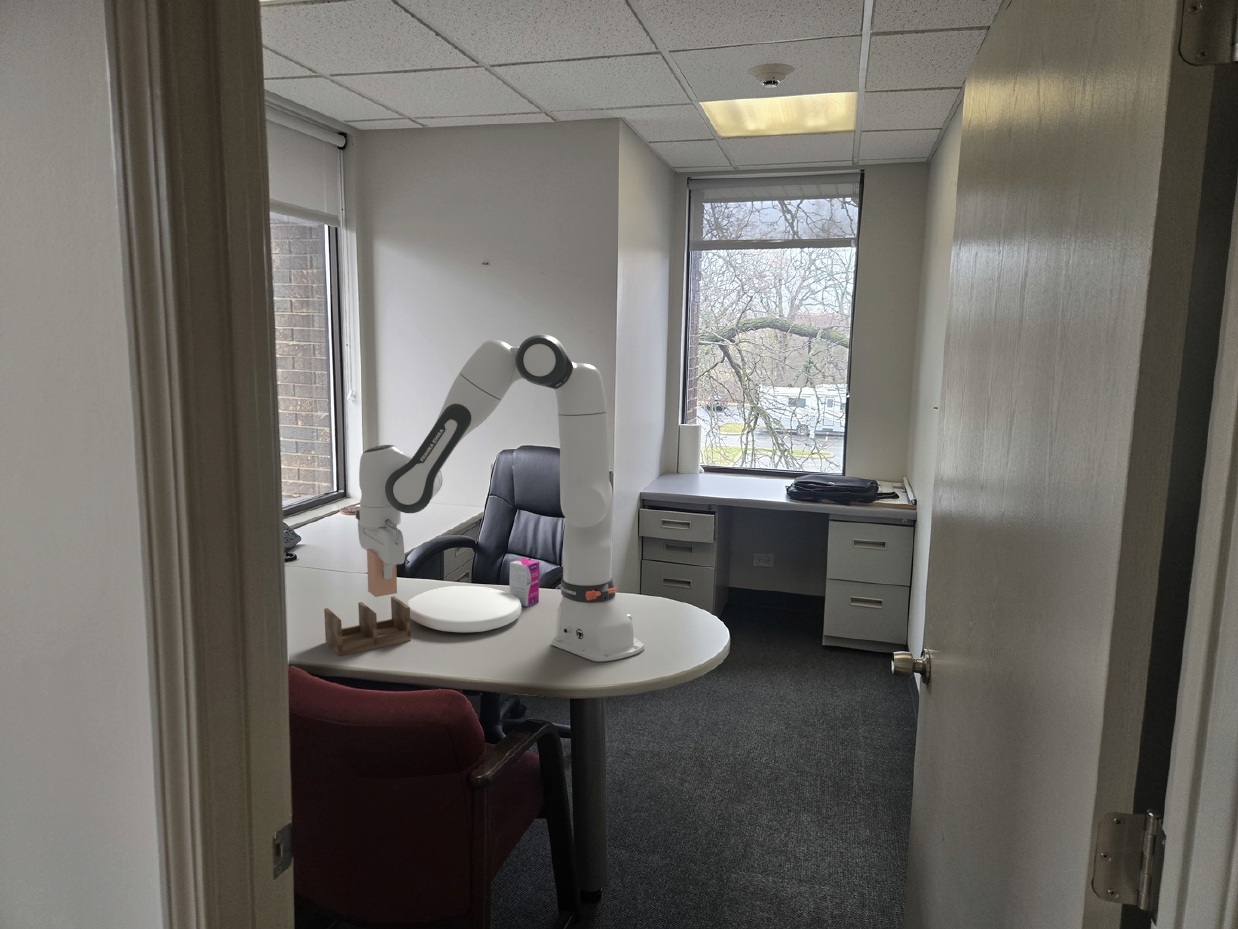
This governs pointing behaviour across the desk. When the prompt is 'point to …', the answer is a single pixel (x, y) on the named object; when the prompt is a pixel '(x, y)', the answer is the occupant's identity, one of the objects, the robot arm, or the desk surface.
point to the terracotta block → (379, 576)
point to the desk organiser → (368, 629)
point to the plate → (464, 608)
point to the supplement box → (525, 581)
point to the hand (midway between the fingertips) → (382, 575)
